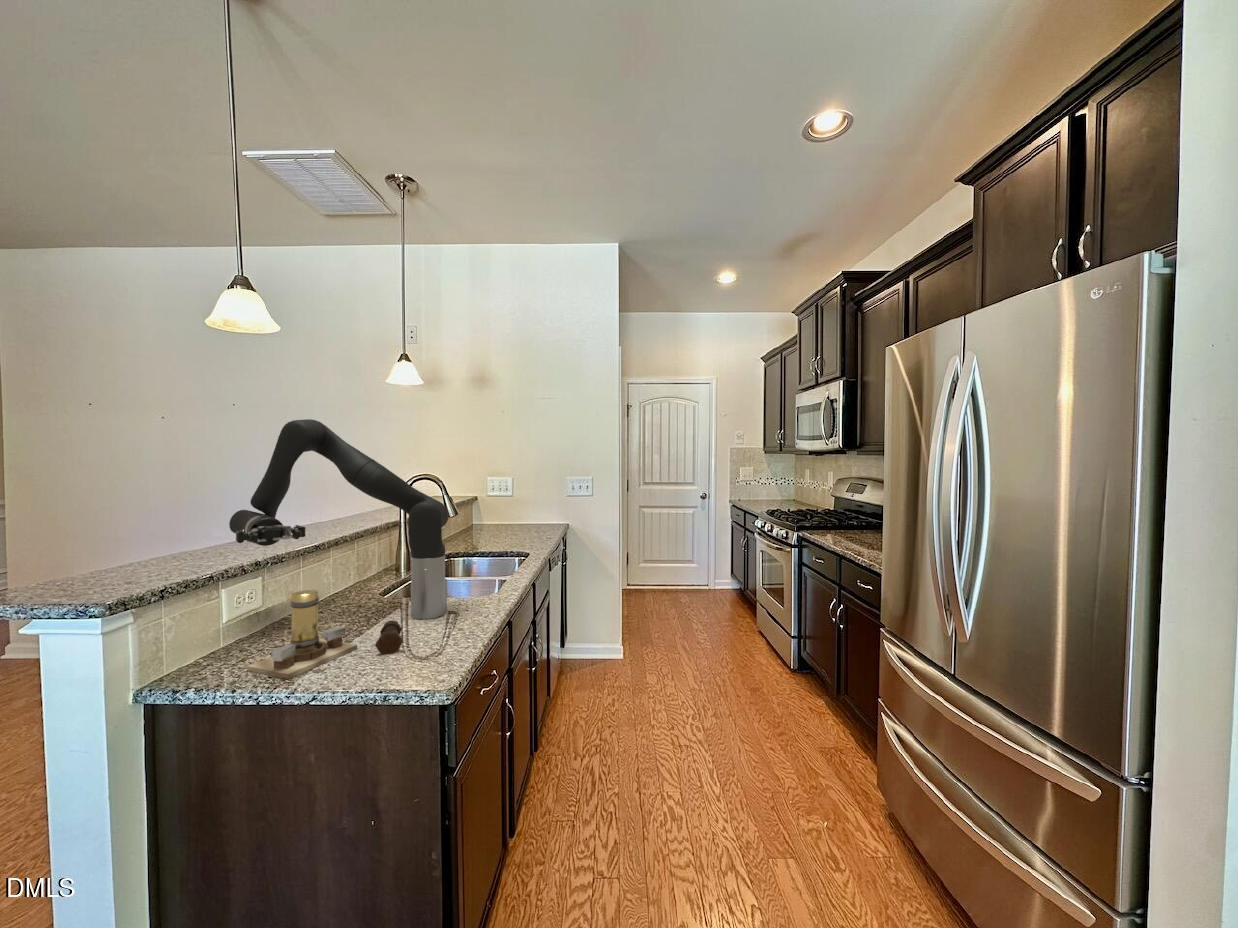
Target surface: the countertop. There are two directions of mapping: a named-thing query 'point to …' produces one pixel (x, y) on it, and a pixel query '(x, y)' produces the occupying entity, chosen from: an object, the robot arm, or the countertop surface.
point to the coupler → (305, 621)
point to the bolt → (389, 638)
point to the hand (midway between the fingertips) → (277, 536)
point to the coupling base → (300, 665)
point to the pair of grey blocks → (289, 649)
